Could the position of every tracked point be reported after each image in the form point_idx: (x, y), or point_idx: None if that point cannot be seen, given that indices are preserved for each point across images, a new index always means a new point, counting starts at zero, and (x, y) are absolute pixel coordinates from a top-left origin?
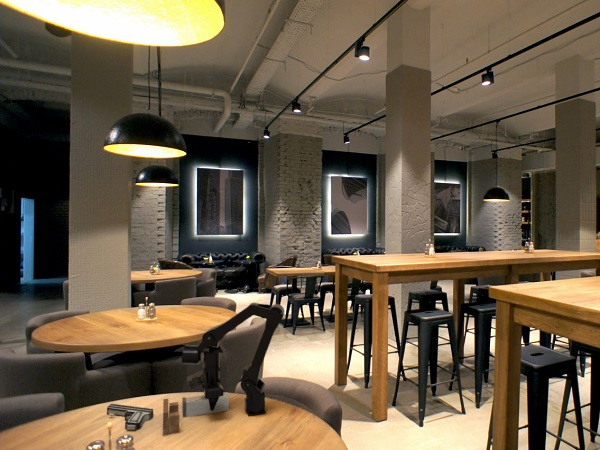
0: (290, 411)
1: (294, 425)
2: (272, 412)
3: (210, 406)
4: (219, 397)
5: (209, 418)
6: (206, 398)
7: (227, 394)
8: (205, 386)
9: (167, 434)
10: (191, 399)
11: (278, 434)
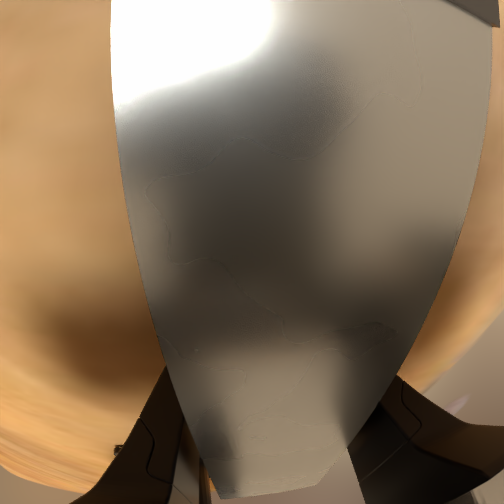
0: None
1: (63, 476)
2: None
3: (162, 375)
4: (218, 481)
5: (81, 296)
6: (233, 428)
7: (264, 493)
8: (455, 492)
9: None
10: (327, 141)
11: (6, 447)
